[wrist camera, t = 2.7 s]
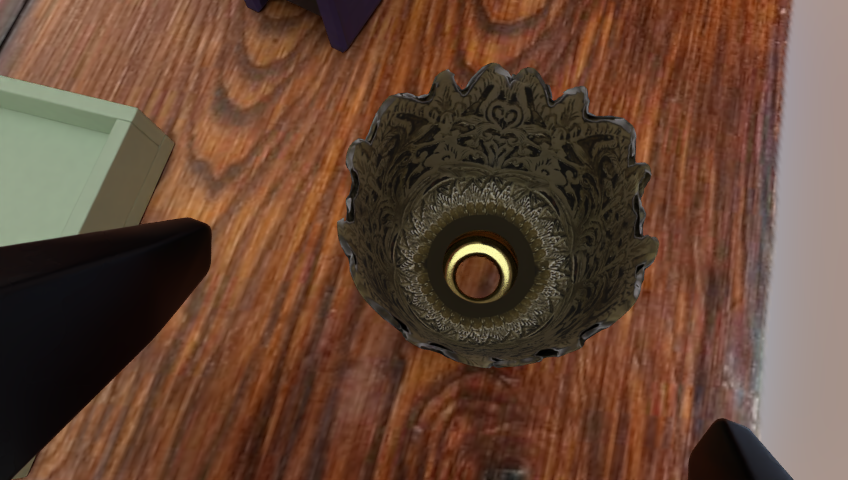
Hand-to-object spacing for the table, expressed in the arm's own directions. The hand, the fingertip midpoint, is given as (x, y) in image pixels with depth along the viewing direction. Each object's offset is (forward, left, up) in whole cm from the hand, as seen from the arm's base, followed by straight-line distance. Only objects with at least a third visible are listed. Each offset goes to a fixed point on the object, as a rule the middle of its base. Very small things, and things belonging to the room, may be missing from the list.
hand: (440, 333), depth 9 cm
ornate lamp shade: (+3, -1, -11) cm, 11 cm away
